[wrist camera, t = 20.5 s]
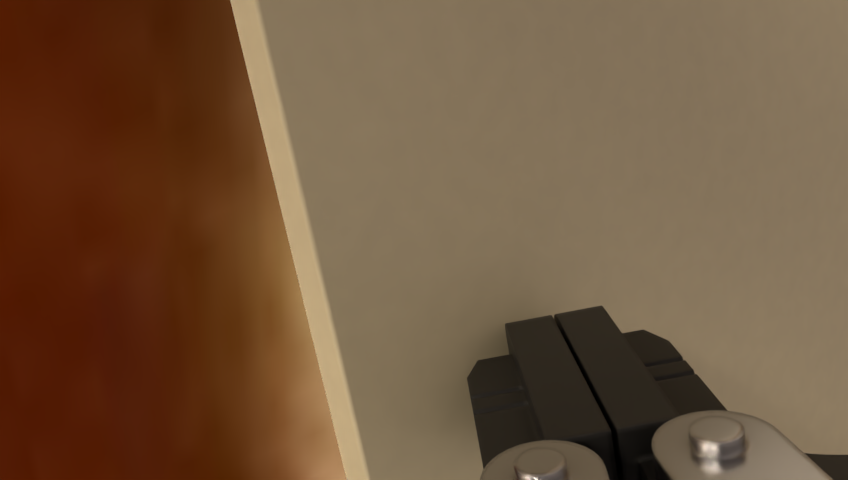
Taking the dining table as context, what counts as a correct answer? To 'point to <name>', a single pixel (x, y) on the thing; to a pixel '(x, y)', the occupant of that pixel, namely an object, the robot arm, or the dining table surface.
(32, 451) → the dining table surface
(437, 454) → the chest lid
